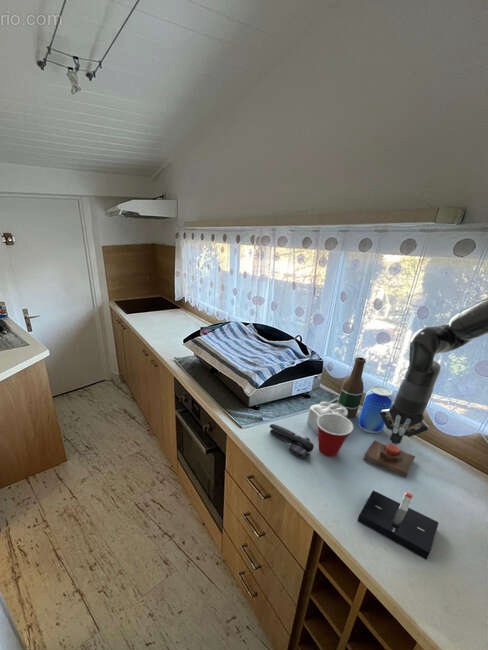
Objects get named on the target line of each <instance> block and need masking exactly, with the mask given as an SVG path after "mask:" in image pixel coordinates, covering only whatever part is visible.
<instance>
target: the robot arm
mask: <svg viewBox="0 0 488 650" xmlns="http://www.w3.org/2000/svg"><path fill="white" fill-rule="evenodd" d="M487 334H488V297H486V298H485V299H482V300H481V301H478V302H477V303H475V304H472V305H471V306H469V307H467V308H465V309H463V310H461V311H459V312H458V313H456V314H454V315H453V316H452V317H451V319H450V320H449V322H448V323H445V324H442V325H436V326H429V327H428V326H427V327H422V328H420V329H418V330H417V331H415V333H414V334H413V335H412V337H411V338H410V343H409V354H408V355H409V357H408V361H409V363H408V366H407V370H406V371H405V373H404V374H405V375H404V378H403V379H402V381H401V383H400V384H399V385H400V386H399V387H398V390H397V393H396V396H395V399H394V400H393V403H392V405H391V408H390V409H387V410H386V409H382V411H381V412H380V415H381V417H382V419H383V421H384V423H385V425H384V426H385V427H386V429H387V430H389V431H391V435H390V437H389V441H391V443H390V444H393V445H396V446H397V444H398V445H400V444H401V442H402V440H403V438H404V437H405V436H406V437H408V438H410V437H413V436H416V435H419V434H421V433H425V432H427V431H428V430H429V428H430V424H429V423H427V422H425V420H424V419H425V418H424V417H425V416H424V413H425V411H426V408H427V407H428V404H429V402H430V399H431V398H432V394H433V393H434V388H435V385H436V382H437V380H438V378H439V376H440V373H441V370H442V369H441V368H442V366H441V364H440V363H439V362H438V361H436V360H434V359H435V356H436V355H437V354H444V353H449V352H451V351H455V350H457V349H460V348H461V347H463V346H465V345H466V344H469V343H470V342H471V341H473V340H474V339H478V338H479V337H482V336H484V335H487ZM391 418H392V419H391ZM392 420H393V421H392ZM393 422H394V423H393ZM416 425H417V426H416ZM413 426H415V427H413ZM409 427H412V428H410V429H408V428H409Z"/></svg>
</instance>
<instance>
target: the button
mask: <svg viewBox="0 0 488 650" xmlns="http://www.w3.org/2000/svg"><path fill="white" fill-rule="evenodd" d="M386 444H387V443H386ZM399 450H401V449H400V447H399V446H397V445H396V444H393V443H388V444H387V446H386V448H385V451H386V452H387V453H388V454H390V455H395V456H396V455H398V453H399Z"/></svg>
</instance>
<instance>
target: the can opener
mask: <svg viewBox="0 0 488 650" xmlns="http://www.w3.org/2000/svg"><path fill="white" fill-rule="evenodd" d="M269 428H270V431H269V432H270V434H271V435H273V436H274V437H276V438H278V439H280V440H282V441H284V442H287V443H289V447H288V448H287V450H288V451H289V452H290V453H291V454H292V455H294V456H296V457H297V458H300V459H306V458H308V457H309V456H310V453H311V452H312V451H313V450H314V447H315V445H314V443H313V442H311V439H310V437H308V436H305V437H303V436H301V435H299V434H298V433H295V432H294V431H292V430H289V429H287V428H285V427H283V426H280V425H277V424H275V423H271V424H270V425H269Z"/></svg>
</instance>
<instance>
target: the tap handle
mask: <svg viewBox="0 0 488 650" xmlns="http://www.w3.org/2000/svg"><path fill="white" fill-rule="evenodd" d="M413 498H414V495H413V494H412V493H409V492H405V493H404V495H403V497H402V500H401V501H400V506H399V508H398V510H397V513H396V515H395V518H394V520H393V522H392V525H394V526H396V527H398V528H399V527H400V525H401V523H402V521H403V519H404V517H405V515H406V513H407V510H408V508H410V505H411V502H412V500H413Z"/></svg>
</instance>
